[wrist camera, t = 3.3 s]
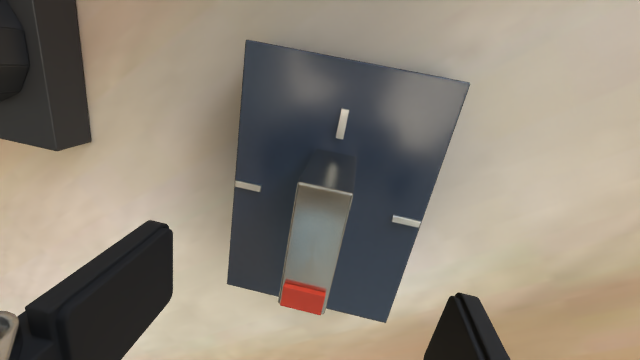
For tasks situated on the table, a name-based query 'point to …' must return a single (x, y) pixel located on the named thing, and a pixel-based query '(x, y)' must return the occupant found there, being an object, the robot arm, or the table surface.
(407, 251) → the console
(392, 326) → the table surface
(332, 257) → the knob
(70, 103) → the button box
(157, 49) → the table surface
